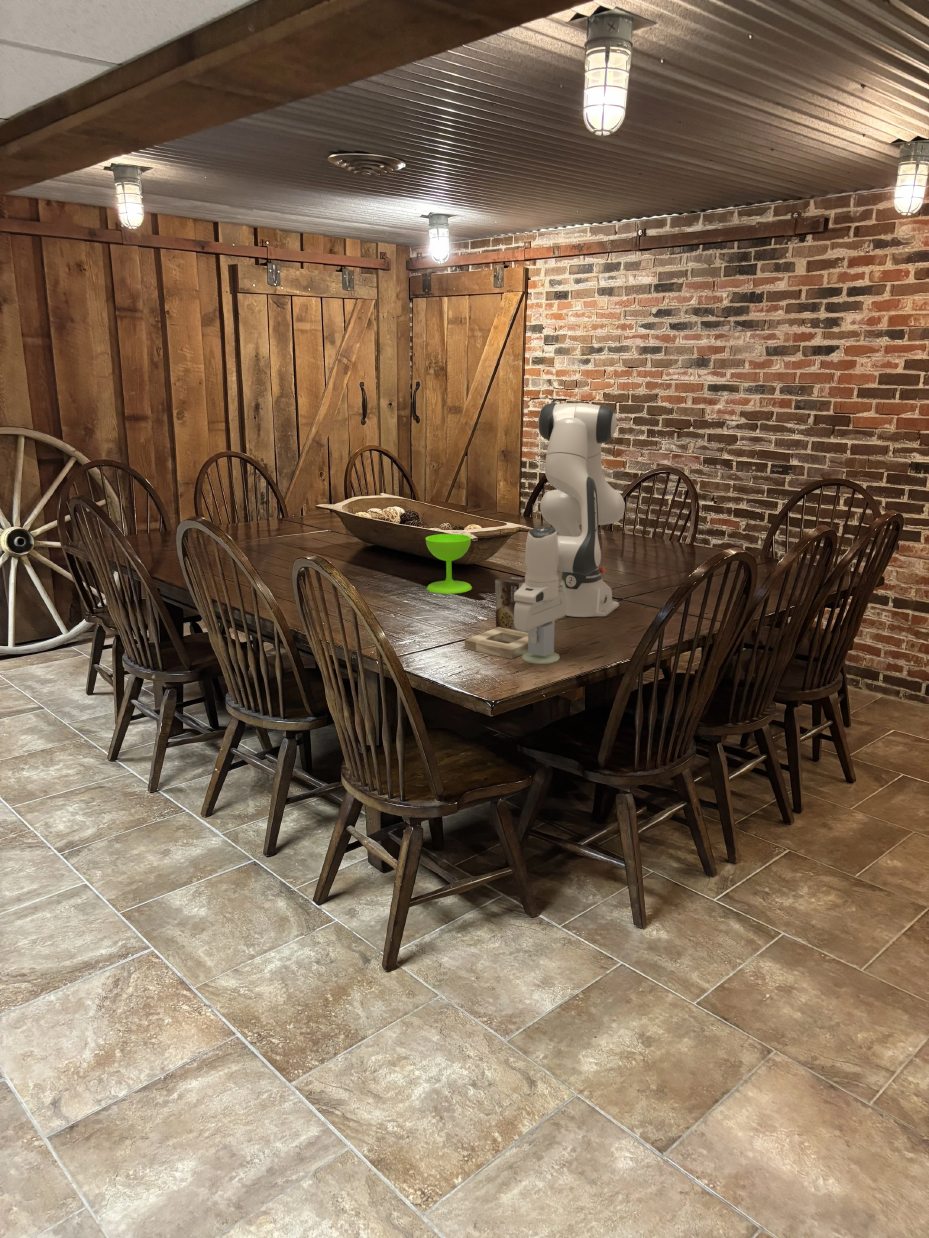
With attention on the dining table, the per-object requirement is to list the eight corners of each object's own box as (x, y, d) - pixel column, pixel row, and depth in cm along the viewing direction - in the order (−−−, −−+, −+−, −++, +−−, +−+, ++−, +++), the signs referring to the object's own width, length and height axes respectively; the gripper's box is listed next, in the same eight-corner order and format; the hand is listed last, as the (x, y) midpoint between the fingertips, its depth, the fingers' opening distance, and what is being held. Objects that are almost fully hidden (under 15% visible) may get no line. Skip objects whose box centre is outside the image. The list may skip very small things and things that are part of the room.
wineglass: (466, 594, 314) (466, 542, 309) (421, 592, 317) (420, 541, 312) (475, 583, 329) (475, 534, 324) (432, 582, 332) (431, 533, 328)
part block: (538, 648, 248) (538, 620, 246) (553, 651, 245) (554, 623, 243) (528, 653, 245) (528, 624, 242) (543, 656, 242) (544, 627, 240)
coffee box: (532, 632, 269) (533, 579, 264) (518, 637, 264) (519, 583, 260) (508, 627, 275) (508, 574, 270) (494, 632, 270) (494, 578, 266)
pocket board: (498, 635, 267) (498, 626, 266) (544, 644, 257) (544, 636, 257) (464, 648, 255) (464, 639, 254) (511, 658, 245) (511, 650, 244)
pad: (535, 650, 252) (535, 648, 252) (566, 657, 246) (566, 654, 246) (514, 659, 245) (514, 657, 244) (546, 666, 239) (546, 664, 238)
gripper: (552, 580, 250) (552, 628, 254) (509, 595, 235) (509, 646, 238) (572, 583, 246) (571, 632, 250) (530, 598, 231) (529, 651, 235)
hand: (541, 639), depth 244 cm, fingers closed on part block, 5 cm apart
